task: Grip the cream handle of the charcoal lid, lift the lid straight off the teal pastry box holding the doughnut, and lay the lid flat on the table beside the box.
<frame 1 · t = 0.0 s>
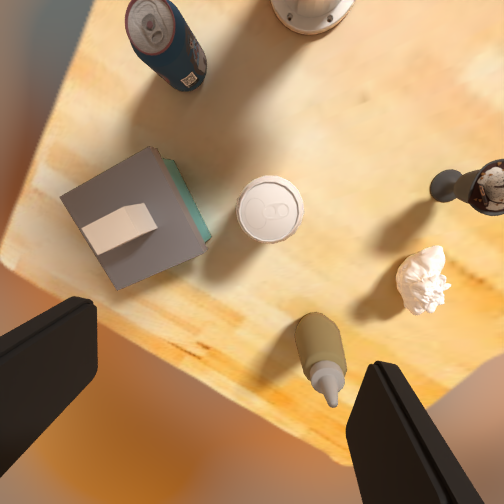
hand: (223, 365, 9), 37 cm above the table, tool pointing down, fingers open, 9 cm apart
squeeze bottle: (314, 324, 49), on the table
pastry box: (159, 216, 46), on the table
lid: (139, 222, 40), point 7 cm above the table, touching pastry box
sundae: (446, 185, 40), on the table
white tied bag: (409, 271, 45), on the table
supplement can: (272, 201, 44), on the table
soda can: (187, 69, 40), on the table
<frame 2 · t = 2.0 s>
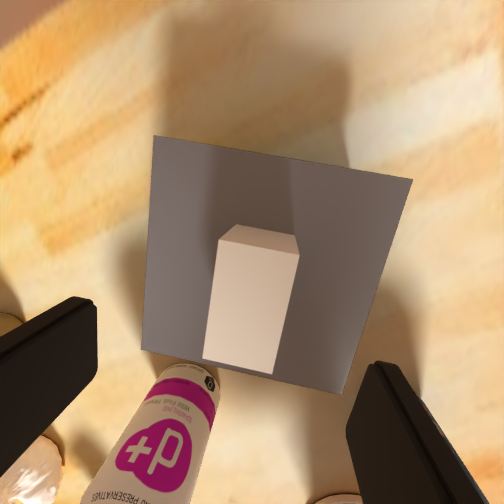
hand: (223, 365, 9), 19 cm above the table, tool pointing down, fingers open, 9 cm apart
squeeze bottle: (11, 331, 34), on the table
lid: (259, 267, 20), point 7 cm above the table, touching pastry box
white tied bag: (47, 443, 39), on the table
supplement can: (190, 385, 33), on the table
soda can: (389, 404, 30), on the table
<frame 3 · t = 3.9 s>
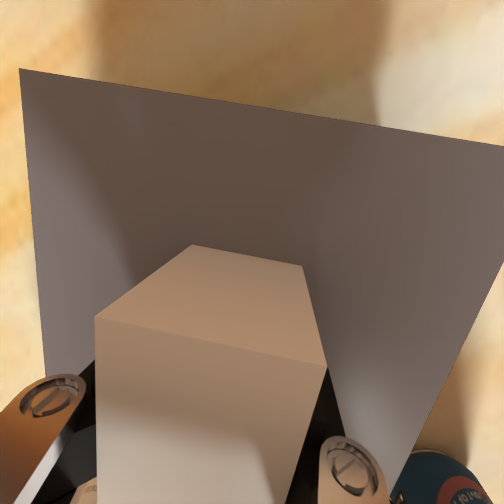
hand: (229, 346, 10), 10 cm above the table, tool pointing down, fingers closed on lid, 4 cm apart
lid: (240, 310, 12), point 7 cm above the table, touching gripper, pastry box
supplement can: (160, 440, 25), on the table
soda can: (423, 470, 22), on the table
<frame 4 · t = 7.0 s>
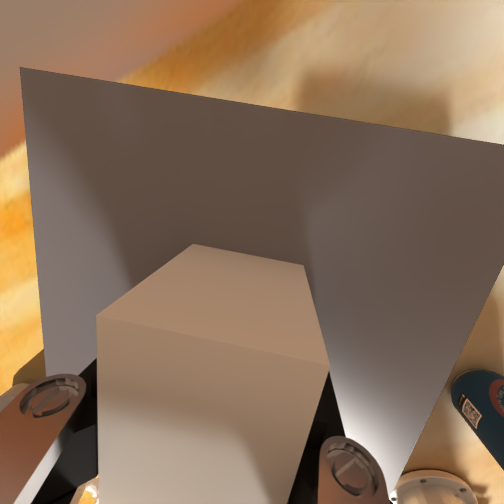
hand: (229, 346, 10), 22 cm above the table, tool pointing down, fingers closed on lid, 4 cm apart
squeeze bottle: (116, 327, 37), on the table
lid: (241, 310, 12), point 19 cm above the table, touching gripper
soda can: (473, 385, 33), on the table
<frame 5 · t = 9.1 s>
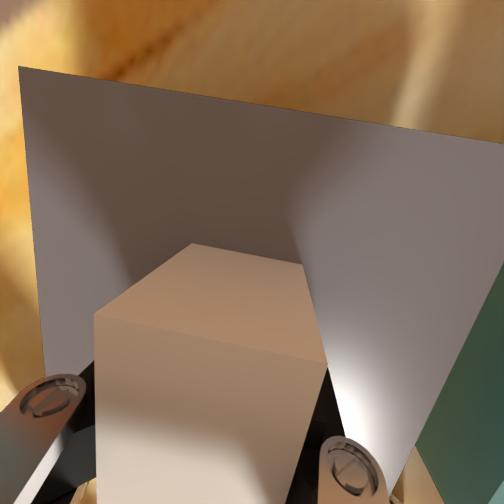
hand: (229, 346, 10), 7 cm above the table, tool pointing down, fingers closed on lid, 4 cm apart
lid: (240, 309, 12), point 5 cm above the table, touching gripper
when the fingers open (4 cm above the table, at t = 10.5 s): lid drops 2 cm, on the table.
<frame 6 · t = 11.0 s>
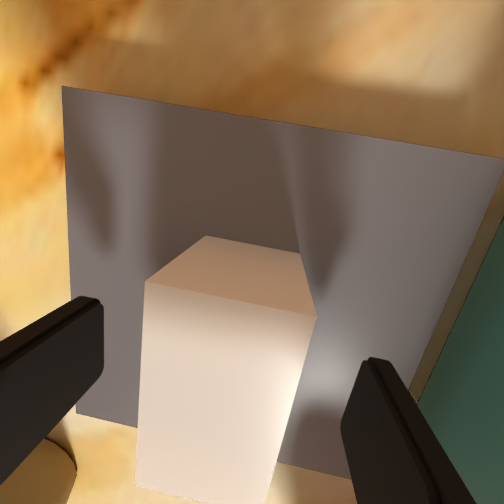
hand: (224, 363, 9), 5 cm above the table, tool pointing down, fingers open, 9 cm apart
squeeze bottle: (45, 458, 19), on the table
lid: (245, 296, 14), on the table
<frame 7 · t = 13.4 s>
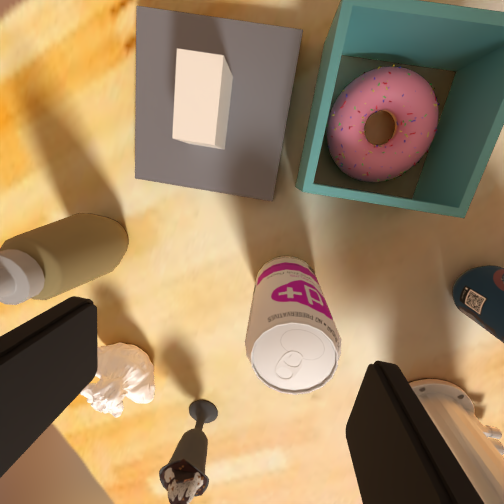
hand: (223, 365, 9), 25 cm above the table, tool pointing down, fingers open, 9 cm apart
squeeze bottle: (109, 237, 35), on the table
doughnut: (372, 131, 29), resting in pastry box
pastry box: (373, 130, 28), on the table
lid: (214, 116, 29), on the table
sundae: (204, 410, 43), on the table
white tied bag: (136, 354, 41), on the table
supplement can: (285, 282, 35), on the table
soda can: (474, 286, 33), on the table
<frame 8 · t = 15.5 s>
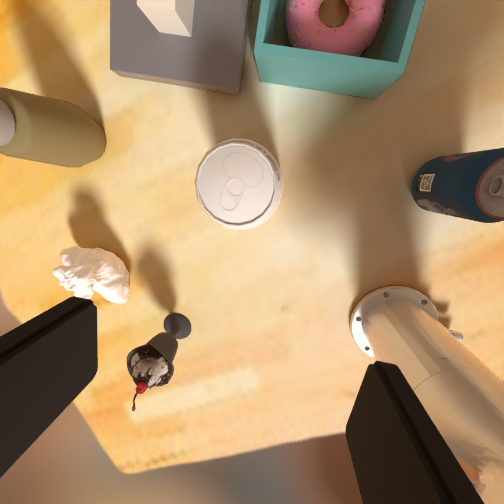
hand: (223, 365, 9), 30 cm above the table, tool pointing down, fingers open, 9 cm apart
squeeze bottle: (89, 140, 37), on the table
doughnut: (330, 23, 31), resting in pastry box
pastry box: (331, 20, 30), on the table
lid: (184, 10, 31), on the table
sundae: (178, 325, 44), on the table
white tied bag: (114, 265, 43), on the table
supplement can: (253, 183, 36), on the table
soda can: (433, 184, 34), on the table
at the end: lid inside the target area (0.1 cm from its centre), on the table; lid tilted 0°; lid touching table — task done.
